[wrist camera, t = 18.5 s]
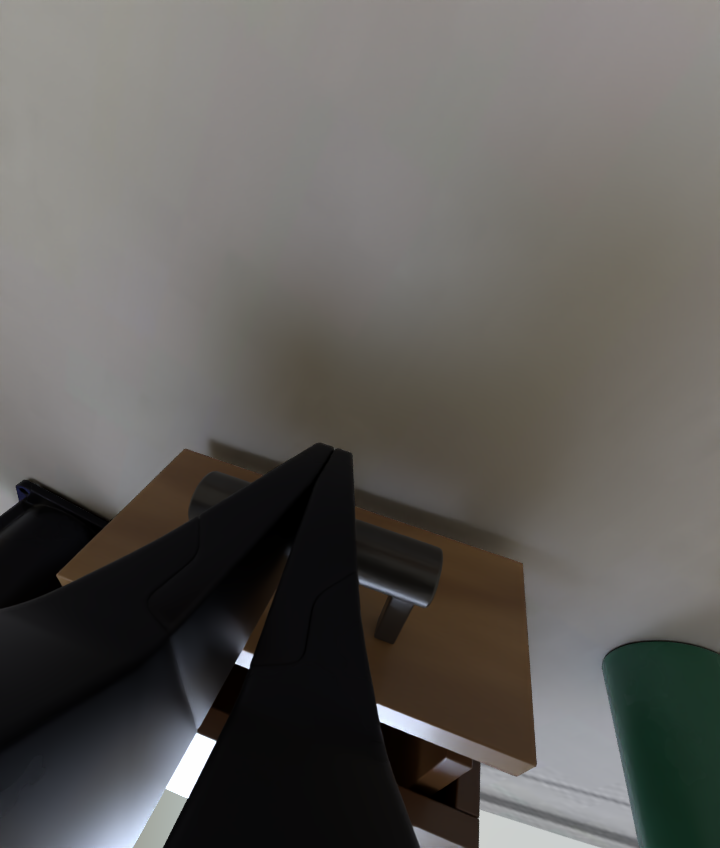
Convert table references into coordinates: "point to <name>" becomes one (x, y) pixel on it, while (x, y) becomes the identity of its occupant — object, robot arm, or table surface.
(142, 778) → the robot arm
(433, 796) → the cabinet
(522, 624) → the drawer
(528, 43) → the table surface
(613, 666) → the can
